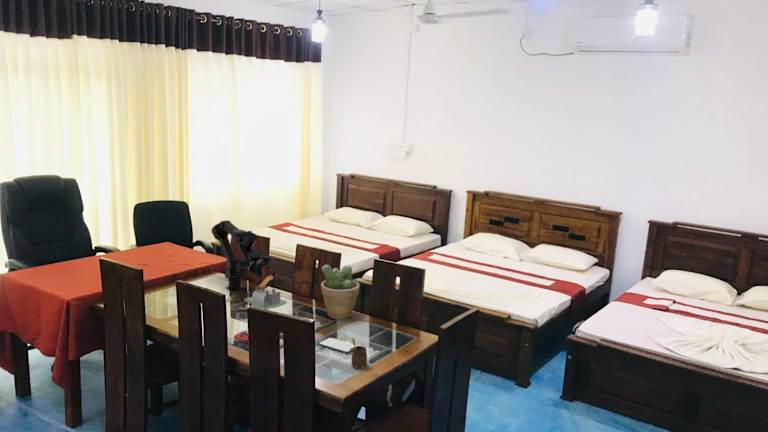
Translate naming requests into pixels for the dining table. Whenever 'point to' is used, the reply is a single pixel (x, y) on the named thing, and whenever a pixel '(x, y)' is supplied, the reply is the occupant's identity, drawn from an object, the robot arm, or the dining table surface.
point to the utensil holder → (359, 355)
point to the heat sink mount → (265, 298)
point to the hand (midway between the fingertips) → (261, 277)
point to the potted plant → (339, 291)
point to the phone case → (337, 345)
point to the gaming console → (242, 336)
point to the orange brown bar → (265, 281)
